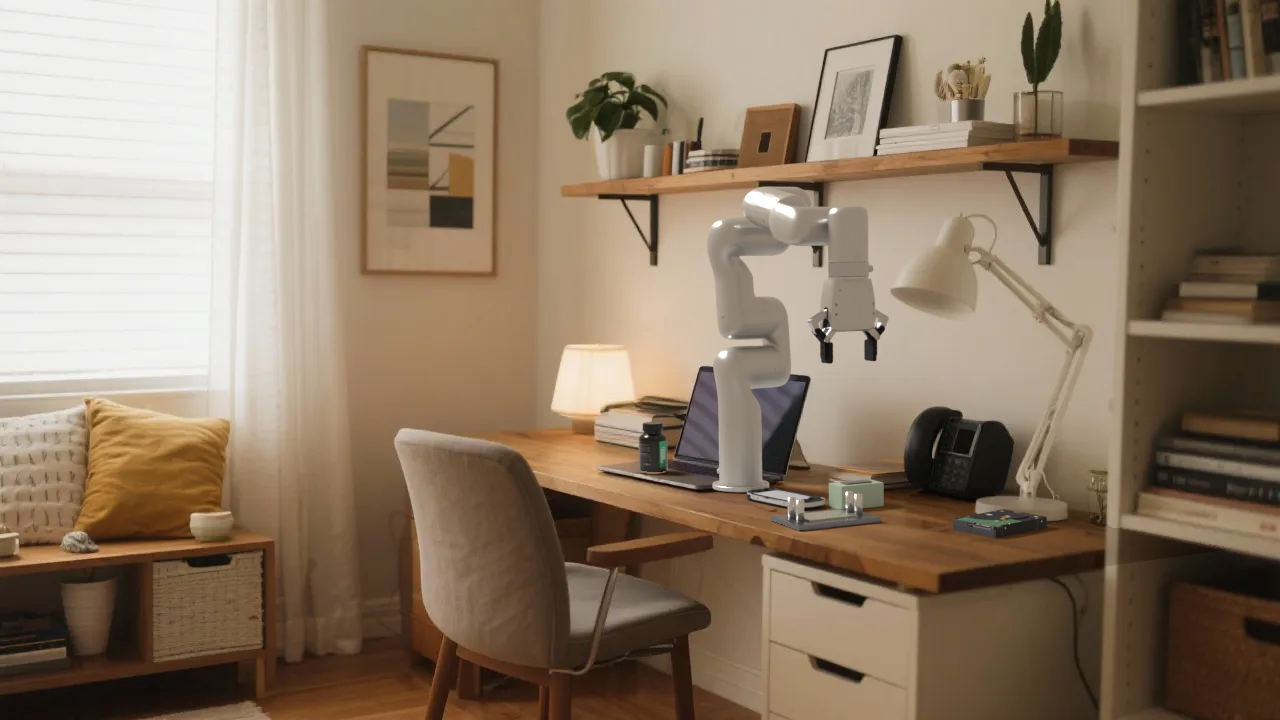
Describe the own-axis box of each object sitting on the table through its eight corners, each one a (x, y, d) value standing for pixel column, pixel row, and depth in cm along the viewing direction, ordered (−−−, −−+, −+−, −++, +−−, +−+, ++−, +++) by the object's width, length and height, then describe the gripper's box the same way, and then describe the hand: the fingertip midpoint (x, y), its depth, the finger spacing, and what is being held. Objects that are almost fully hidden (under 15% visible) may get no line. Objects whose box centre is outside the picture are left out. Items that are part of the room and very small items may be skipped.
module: (828, 507, 275) (828, 481, 274) (870, 502, 279) (870, 477, 278) (841, 511, 270) (841, 485, 270) (883, 506, 274) (883, 481, 274)
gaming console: (832, 509, 274) (832, 497, 274) (799, 514, 269) (799, 501, 269) (772, 496, 290) (772, 484, 290) (739, 500, 285) (739, 488, 285)
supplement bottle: (670, 473, 319) (669, 424, 318) (642, 475, 318) (641, 425, 317) (664, 469, 326) (663, 420, 325) (636, 471, 325) (635, 421, 324)
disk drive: (1003, 523, 258) (951, 532, 249) (1003, 508, 258) (951, 517, 249) (1047, 531, 250) (995, 540, 241) (1048, 516, 249) (996, 525, 241)
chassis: (770, 520, 260) (770, 495, 260) (849, 512, 267) (849, 487, 267) (799, 531, 250) (798, 504, 250) (880, 522, 257) (880, 496, 257)
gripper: (875, 270, 260) (876, 358, 261) (798, 272, 253) (799, 362, 254) (898, 270, 253) (898, 361, 254) (819, 272, 246) (820, 365, 247)
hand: (848, 361), depth 254 cm, fingers open, 9 cm apart
